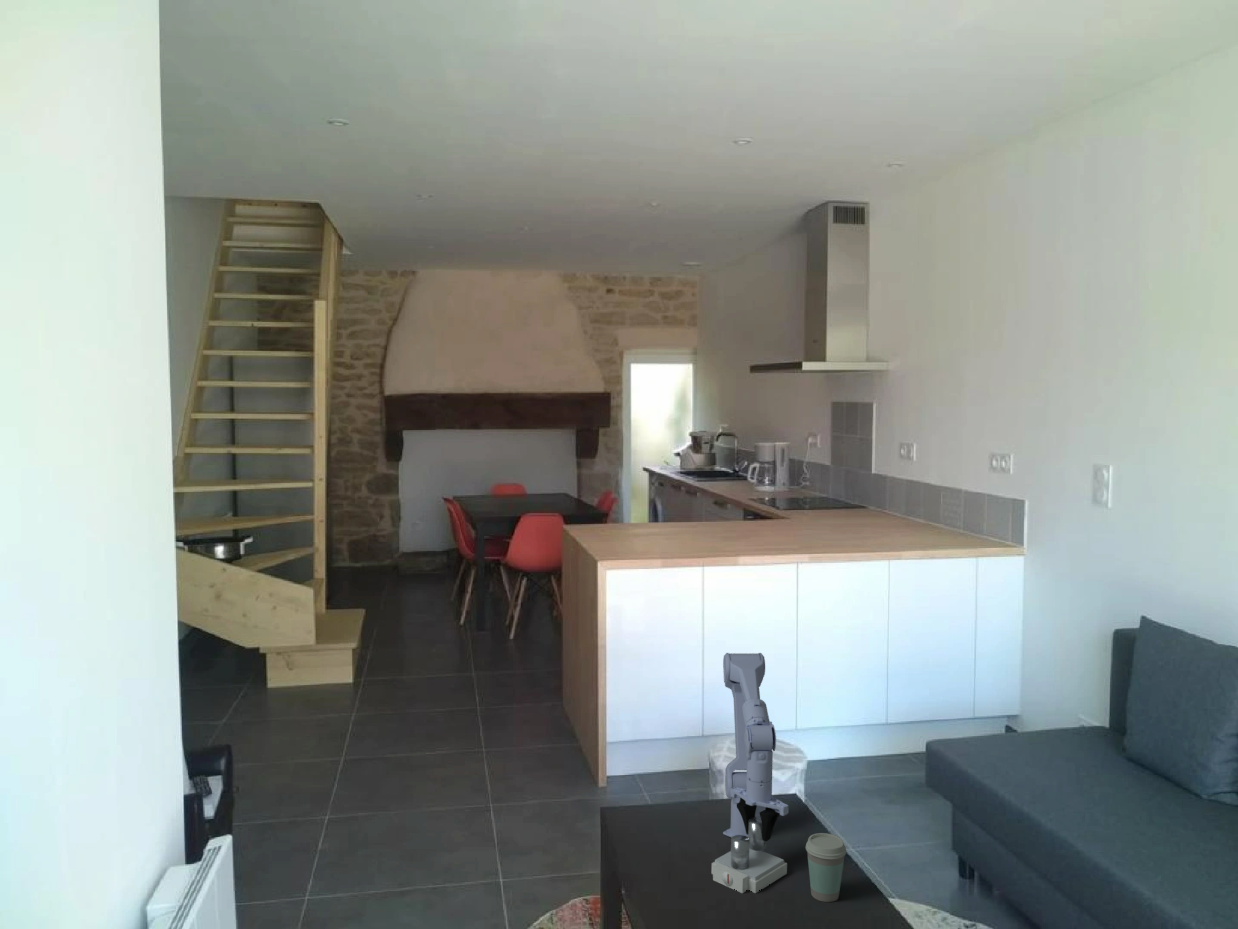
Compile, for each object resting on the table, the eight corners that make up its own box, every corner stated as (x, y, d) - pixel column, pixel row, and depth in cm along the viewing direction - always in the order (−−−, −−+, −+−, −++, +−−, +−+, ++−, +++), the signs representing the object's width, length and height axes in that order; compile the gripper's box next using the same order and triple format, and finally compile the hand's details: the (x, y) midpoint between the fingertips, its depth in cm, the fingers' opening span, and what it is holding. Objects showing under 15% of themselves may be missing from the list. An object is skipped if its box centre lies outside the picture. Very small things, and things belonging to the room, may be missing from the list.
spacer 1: (739, 859, 209) (739, 833, 209) (752, 866, 206) (753, 839, 206) (727, 865, 207) (727, 838, 206) (740, 871, 204) (741, 845, 203)
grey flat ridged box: (743, 855, 218) (743, 842, 217) (786, 873, 209) (787, 859, 209) (704, 877, 207) (705, 863, 207) (748, 897, 199) (749, 883, 199)
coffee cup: (847, 889, 203) (848, 835, 202) (843, 909, 195) (844, 853, 194) (807, 882, 206) (808, 829, 205) (801, 901, 198) (803, 846, 197)
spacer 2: (756, 841, 214) (756, 815, 213) (769, 847, 211) (770, 821, 210) (744, 846, 211) (744, 820, 211) (758, 852, 208) (758, 826, 208)
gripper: (722, 773, 212) (721, 831, 213) (776, 792, 202) (774, 853, 203) (741, 765, 217) (740, 822, 218) (794, 783, 207) (792, 842, 208)
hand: (758, 836), depth 211 cm, fingers closed on spacer 2, 4 cm apart
